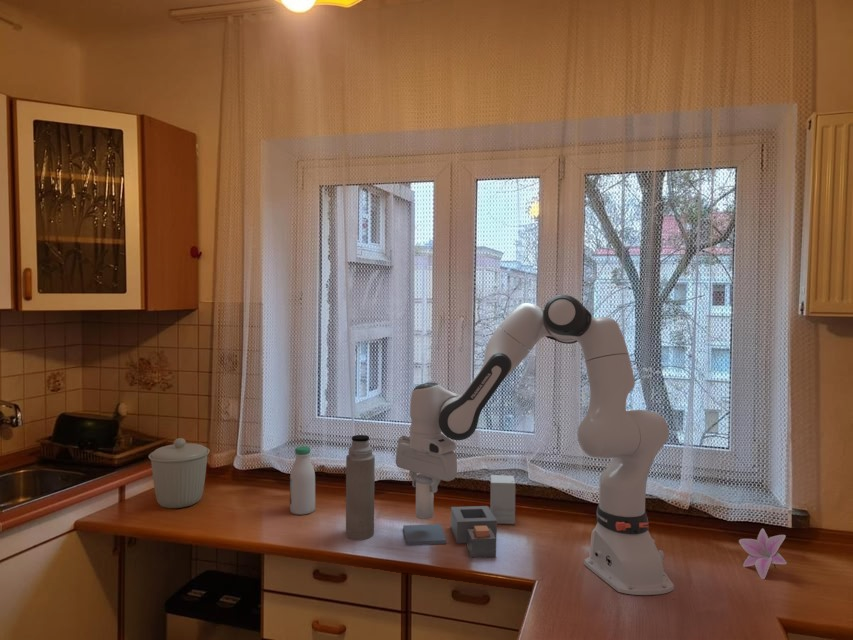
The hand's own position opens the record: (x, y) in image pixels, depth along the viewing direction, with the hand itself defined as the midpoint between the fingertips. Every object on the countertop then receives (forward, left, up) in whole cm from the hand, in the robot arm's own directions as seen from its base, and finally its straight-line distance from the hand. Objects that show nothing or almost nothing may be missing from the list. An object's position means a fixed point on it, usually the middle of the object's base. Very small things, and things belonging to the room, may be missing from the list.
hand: (424, 489), depth 159 cm
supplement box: (+10, -25, -14) cm, 30 cm away
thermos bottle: (+3, +18, -14) cm, 23 cm away
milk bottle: (+22, +36, -14) cm, 44 cm away
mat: (0, 0, -13) cm, 13 cm away
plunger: (-12, -14, -13) cm, 22 cm away
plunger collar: (-12, -14, -13) cm, 23 cm away
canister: (+32, +76, -14) cm, 83 cm away
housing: (0, -14, -13) cm, 19 cm away
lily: (-28, -82, -14) cm, 88 cm away
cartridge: (0, 0, -8) cm, 8 cm away
